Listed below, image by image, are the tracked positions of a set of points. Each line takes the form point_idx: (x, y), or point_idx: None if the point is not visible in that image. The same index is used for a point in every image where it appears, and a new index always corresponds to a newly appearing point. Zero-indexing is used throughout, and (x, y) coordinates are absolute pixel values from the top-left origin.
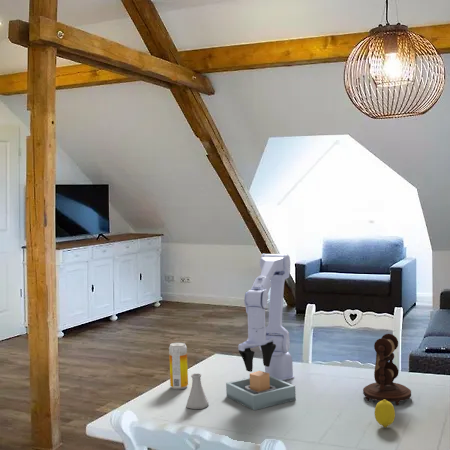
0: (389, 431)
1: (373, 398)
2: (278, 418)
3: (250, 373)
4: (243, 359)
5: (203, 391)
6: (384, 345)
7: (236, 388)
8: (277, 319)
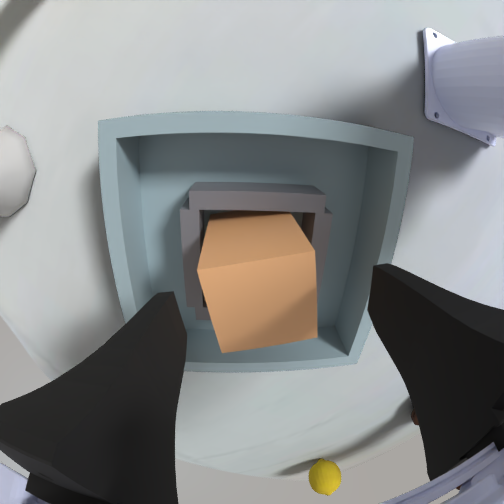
0: (311, 464)
1: (414, 411)
2: (188, 396)
3: (206, 269)
4: (94, 362)
5: None
6: None
7: (108, 239)
8: None
